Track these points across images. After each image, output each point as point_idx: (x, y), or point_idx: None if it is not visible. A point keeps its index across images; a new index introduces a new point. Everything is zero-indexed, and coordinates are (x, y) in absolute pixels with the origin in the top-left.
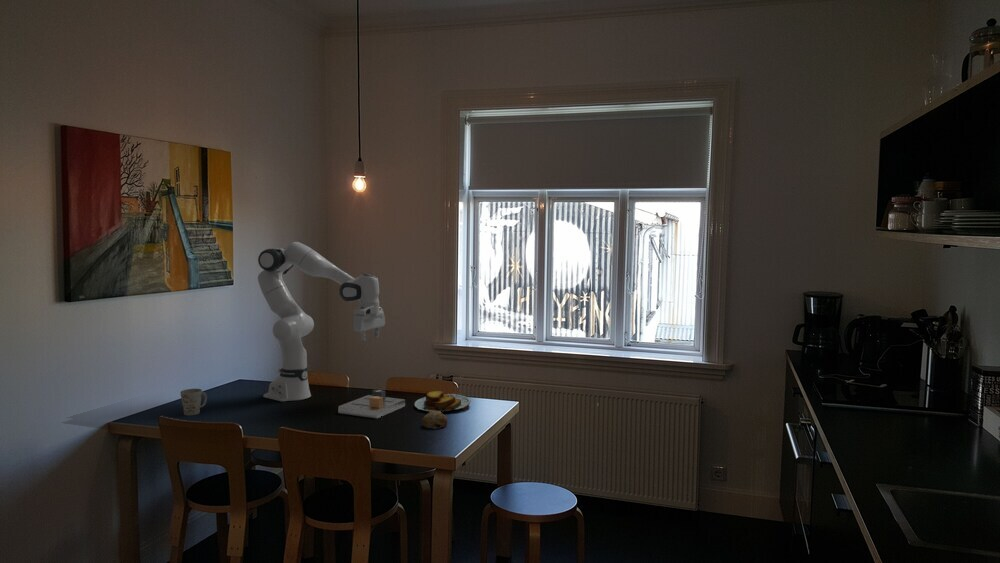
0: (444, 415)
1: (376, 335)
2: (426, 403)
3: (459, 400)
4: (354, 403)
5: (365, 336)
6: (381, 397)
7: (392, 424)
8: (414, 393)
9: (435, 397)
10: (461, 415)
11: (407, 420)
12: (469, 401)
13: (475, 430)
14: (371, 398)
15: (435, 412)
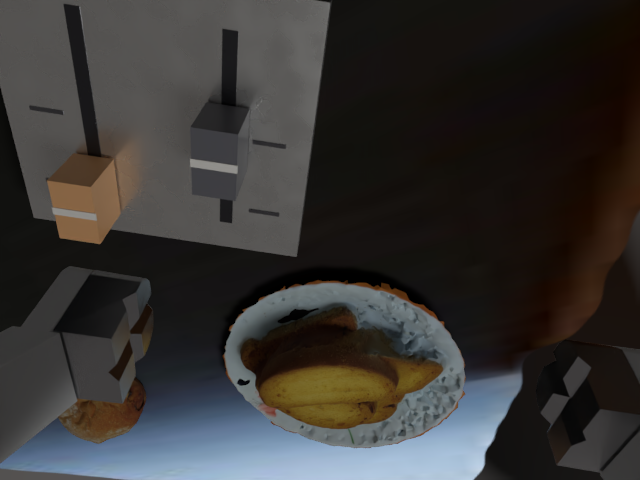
0: (113, 437)
1: (556, 418)
2: (319, 325)
3: (365, 422)
4: (86, 23)
5: (74, 397)
6: (90, 238)
7: (27, 280)
8: (585, 191)
9: (263, 401)
10: (251, 423)
11: None
12: (361, 446)
13: (128, 467)
14: (51, 191)
15: (76, 435)
